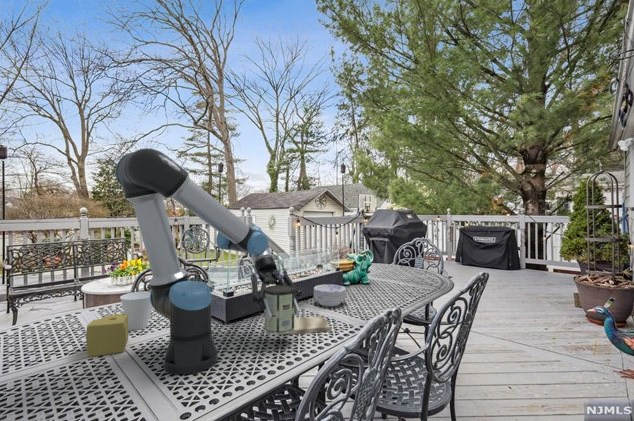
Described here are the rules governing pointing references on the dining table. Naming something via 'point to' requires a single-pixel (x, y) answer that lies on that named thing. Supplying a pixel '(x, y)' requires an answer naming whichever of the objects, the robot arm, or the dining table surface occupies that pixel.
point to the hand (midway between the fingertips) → (284, 315)
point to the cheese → (107, 335)
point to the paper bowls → (329, 294)
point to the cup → (137, 309)
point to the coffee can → (280, 309)
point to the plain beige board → (310, 325)
